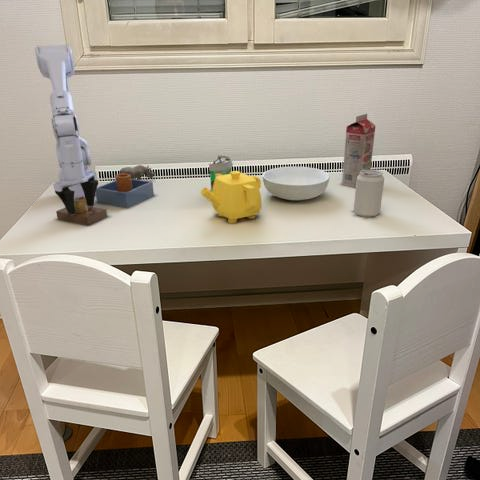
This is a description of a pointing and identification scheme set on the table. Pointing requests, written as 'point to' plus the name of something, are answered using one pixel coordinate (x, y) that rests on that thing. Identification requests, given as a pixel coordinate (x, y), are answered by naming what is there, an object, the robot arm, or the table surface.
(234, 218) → the teapot
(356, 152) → the juice carton
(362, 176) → the can
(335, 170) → the table surface
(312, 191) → the serving bowl
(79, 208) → the tap knob
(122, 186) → the jar
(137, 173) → the rhino figurine
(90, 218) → the panel
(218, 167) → the grey green irregular piece
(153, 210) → the table surface
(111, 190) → the blue open tray
